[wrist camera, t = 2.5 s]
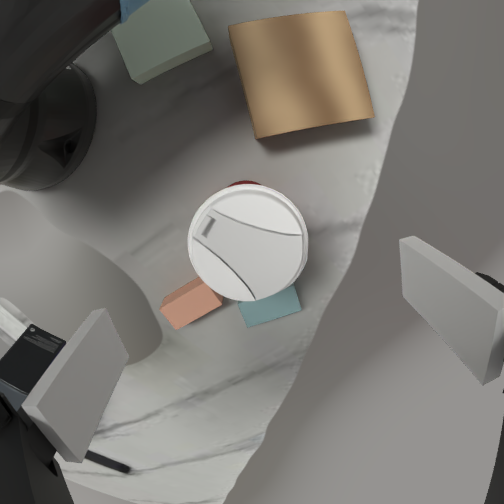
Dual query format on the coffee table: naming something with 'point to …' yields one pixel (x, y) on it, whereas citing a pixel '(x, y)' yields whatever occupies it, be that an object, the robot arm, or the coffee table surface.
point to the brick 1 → (190, 303)
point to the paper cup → (248, 242)
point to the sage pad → (160, 38)
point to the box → (27, 363)
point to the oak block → (300, 72)
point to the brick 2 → (270, 307)
